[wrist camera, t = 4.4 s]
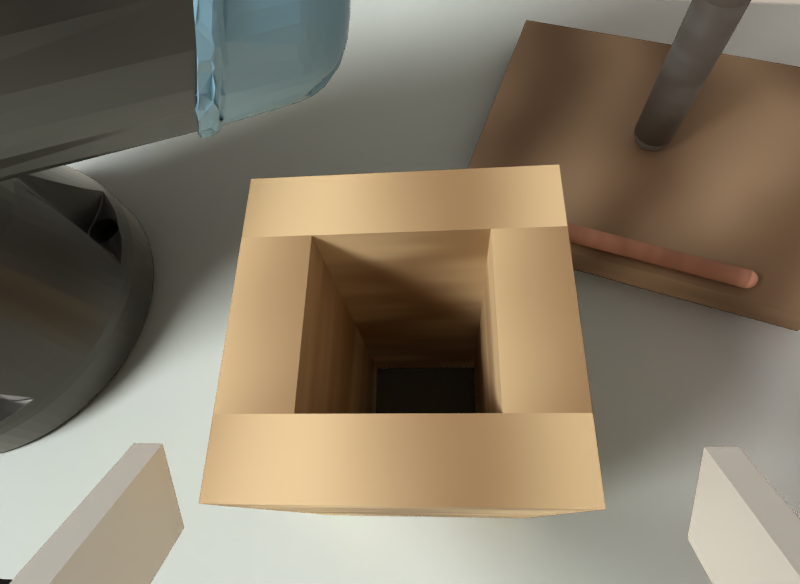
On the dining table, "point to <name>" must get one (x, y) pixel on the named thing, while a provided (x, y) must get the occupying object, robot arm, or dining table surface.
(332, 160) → the dining table surface
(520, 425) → the light wooden hollow box
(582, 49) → the brown base with post
